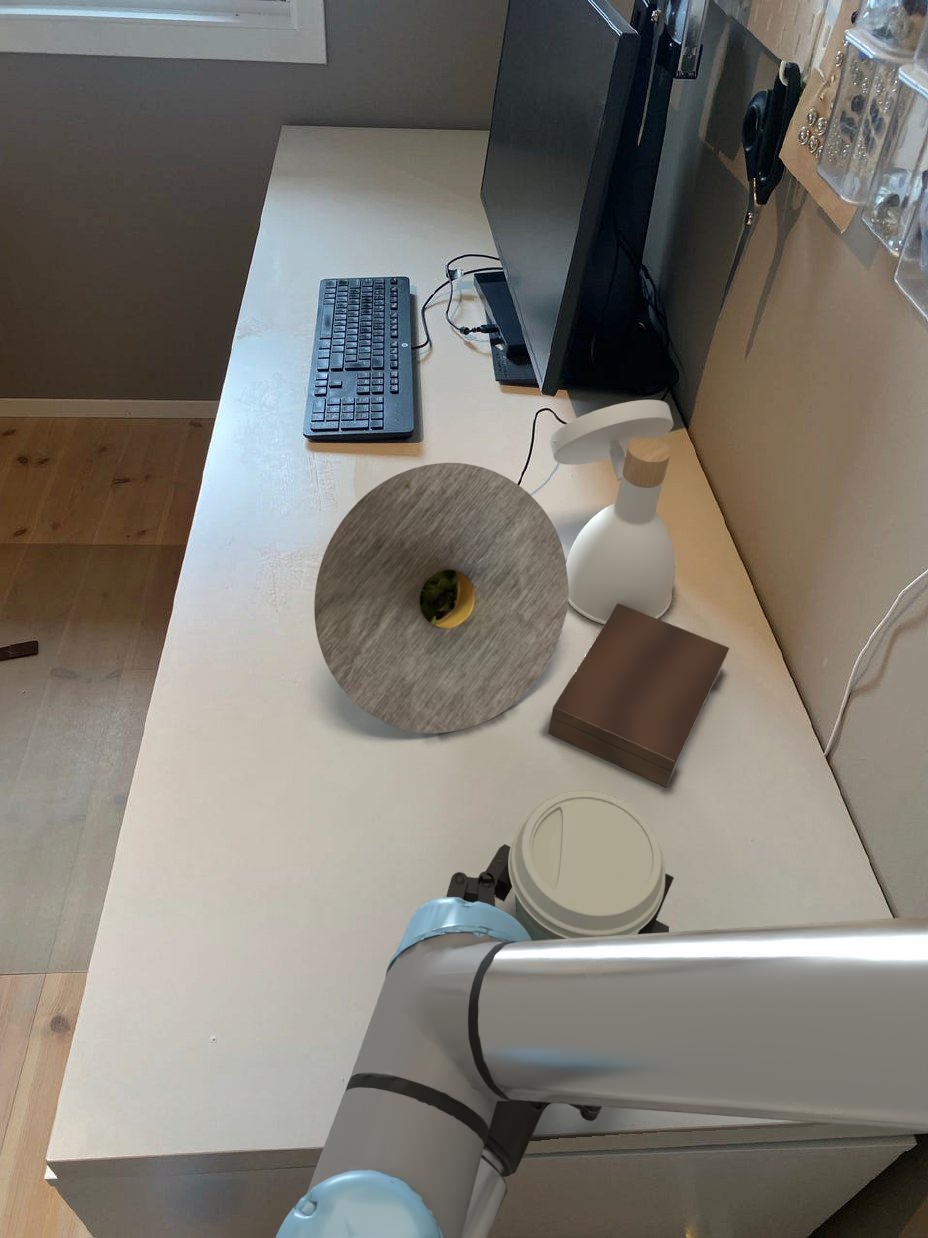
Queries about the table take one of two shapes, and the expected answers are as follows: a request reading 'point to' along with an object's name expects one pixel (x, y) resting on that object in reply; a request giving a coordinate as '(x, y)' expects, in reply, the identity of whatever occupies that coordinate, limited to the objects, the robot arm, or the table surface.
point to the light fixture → (621, 511)
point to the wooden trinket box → (638, 693)
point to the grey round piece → (441, 597)
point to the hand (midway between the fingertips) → (600, 852)
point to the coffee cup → (585, 868)
